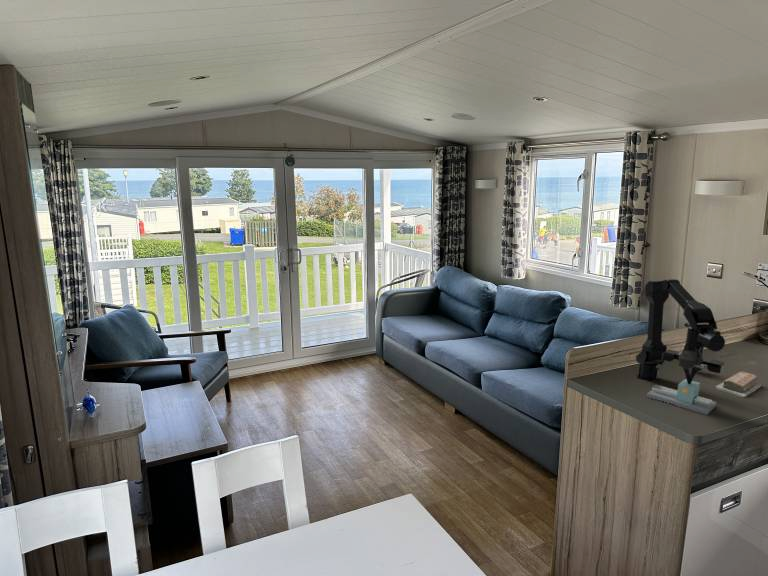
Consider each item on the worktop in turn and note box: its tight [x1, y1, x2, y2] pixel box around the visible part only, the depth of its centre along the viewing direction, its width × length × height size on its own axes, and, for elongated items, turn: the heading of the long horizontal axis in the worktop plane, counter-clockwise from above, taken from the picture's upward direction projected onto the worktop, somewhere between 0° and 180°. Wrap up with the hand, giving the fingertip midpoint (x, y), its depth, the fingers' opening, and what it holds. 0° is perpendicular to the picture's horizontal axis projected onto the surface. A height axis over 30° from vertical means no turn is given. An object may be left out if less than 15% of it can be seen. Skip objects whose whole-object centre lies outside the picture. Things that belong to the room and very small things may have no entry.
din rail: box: [651, 384, 714, 407], centre depth 194 cm, size 19×4×2 cm, turn 44°
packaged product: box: [715, 370, 763, 398], centre depth 207 cm, size 18×5×10 cm
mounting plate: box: [646, 389, 717, 415], centre depth 194 cm, size 20×10×2 cm, turn 44°
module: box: [676, 378, 701, 404], centre depth 192 cm, size 5×8×6 cm, turn 135°
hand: (689, 383), depth 192 cm, fingers closed
